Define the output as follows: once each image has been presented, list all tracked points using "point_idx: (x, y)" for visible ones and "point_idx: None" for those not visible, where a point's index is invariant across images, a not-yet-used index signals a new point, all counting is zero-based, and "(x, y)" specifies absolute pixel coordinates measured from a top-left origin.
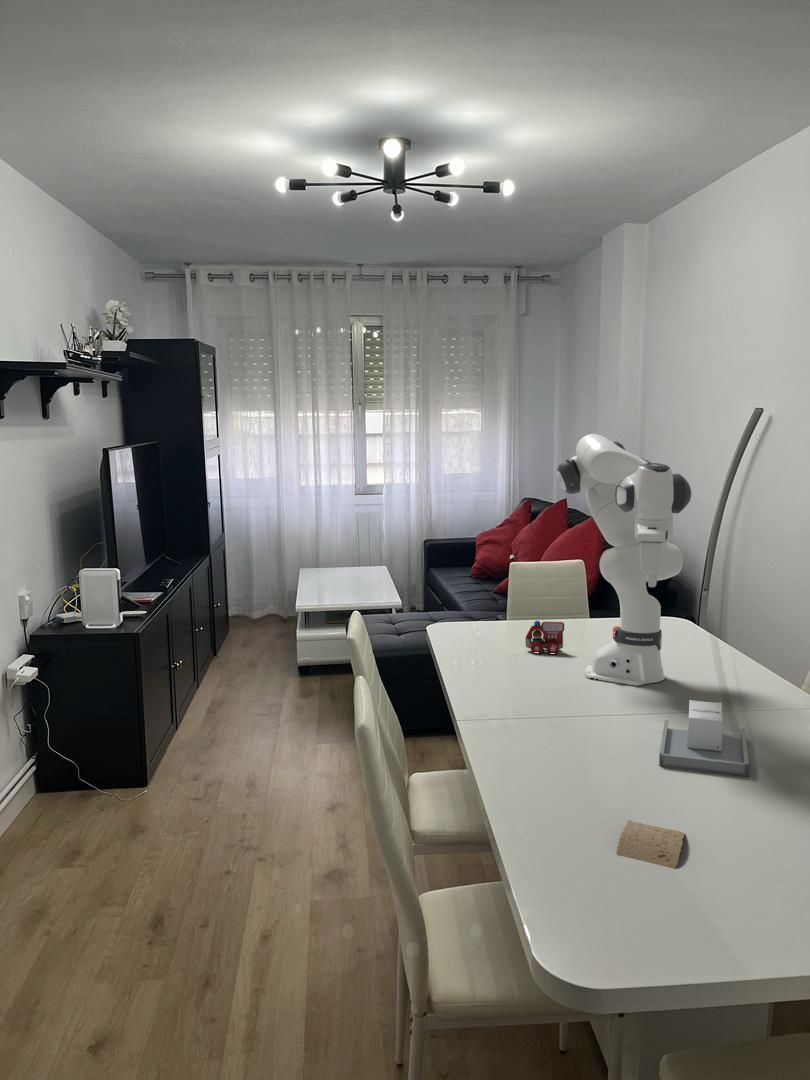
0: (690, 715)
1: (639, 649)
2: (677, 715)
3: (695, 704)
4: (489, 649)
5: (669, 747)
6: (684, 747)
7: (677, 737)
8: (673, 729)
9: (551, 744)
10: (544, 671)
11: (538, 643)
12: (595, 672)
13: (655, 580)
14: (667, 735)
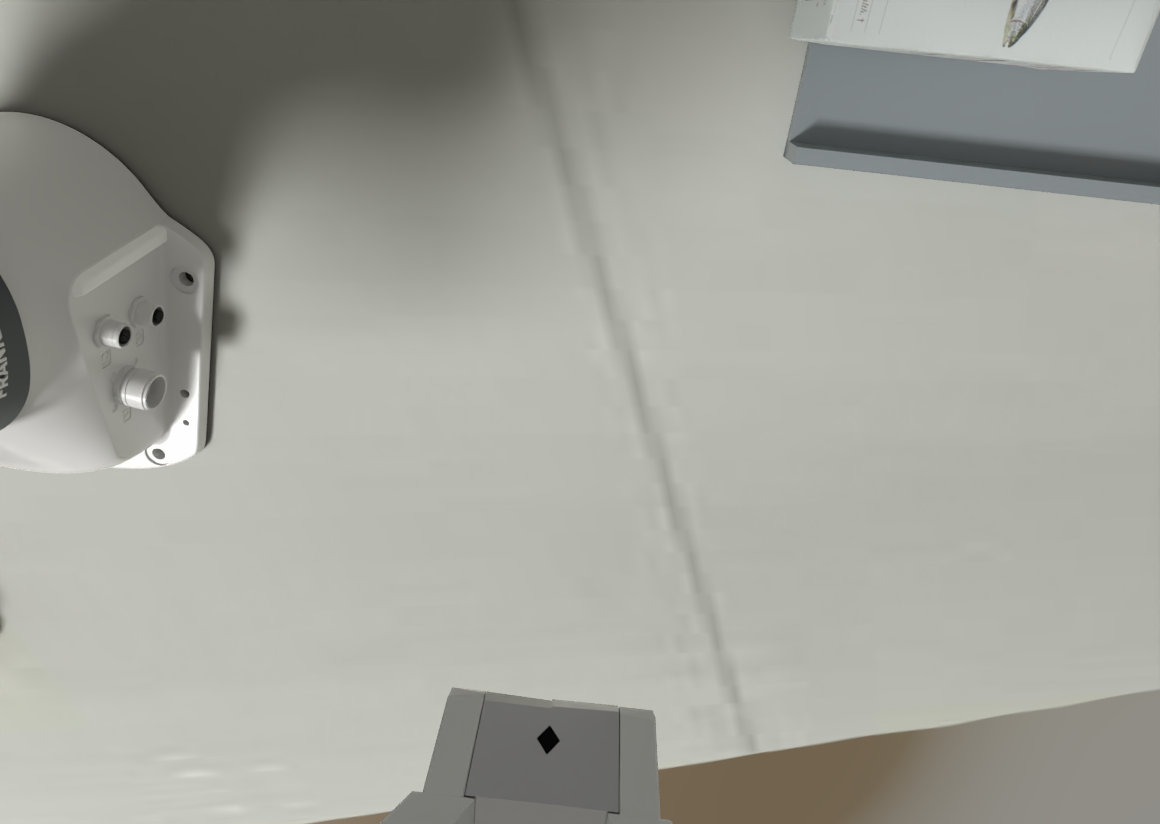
0: (1103, 59)
1: (37, 300)
2: (576, 80)
3: (918, 11)
4: (27, 746)
5: (1023, 149)
6: (1026, 80)
7: (903, 104)
8: (801, 117)
9: (948, 544)
10: (188, 590)
11: None
12: (161, 434)
13: (659, 813)
14: (879, 150)
